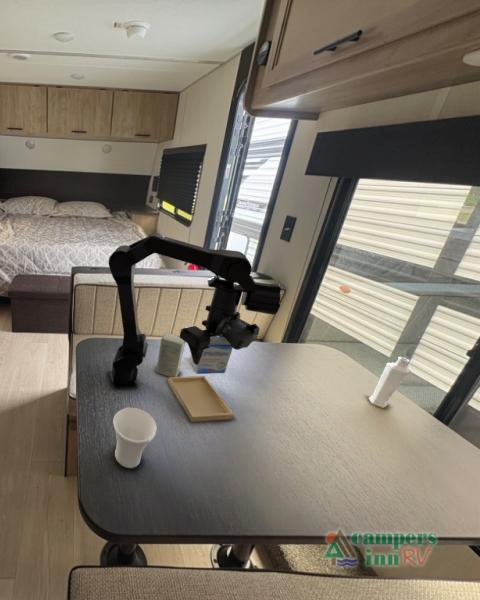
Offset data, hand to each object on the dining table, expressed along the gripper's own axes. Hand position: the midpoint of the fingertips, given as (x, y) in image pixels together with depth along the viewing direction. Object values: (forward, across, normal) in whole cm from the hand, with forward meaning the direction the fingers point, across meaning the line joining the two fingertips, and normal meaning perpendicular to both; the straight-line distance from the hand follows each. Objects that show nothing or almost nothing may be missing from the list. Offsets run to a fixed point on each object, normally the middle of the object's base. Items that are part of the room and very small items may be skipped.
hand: (208, 360), depth 77 cm
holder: (+13, 0, 0) cm, 13 cm away
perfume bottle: (+13, +48, -21) cm, 54 cm away
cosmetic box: (+13, 0, +13) cm, 18 cm away
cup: (+13, -28, -8) cm, 32 cm away
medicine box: (+3, 0, 0) cm, 3 cm away
